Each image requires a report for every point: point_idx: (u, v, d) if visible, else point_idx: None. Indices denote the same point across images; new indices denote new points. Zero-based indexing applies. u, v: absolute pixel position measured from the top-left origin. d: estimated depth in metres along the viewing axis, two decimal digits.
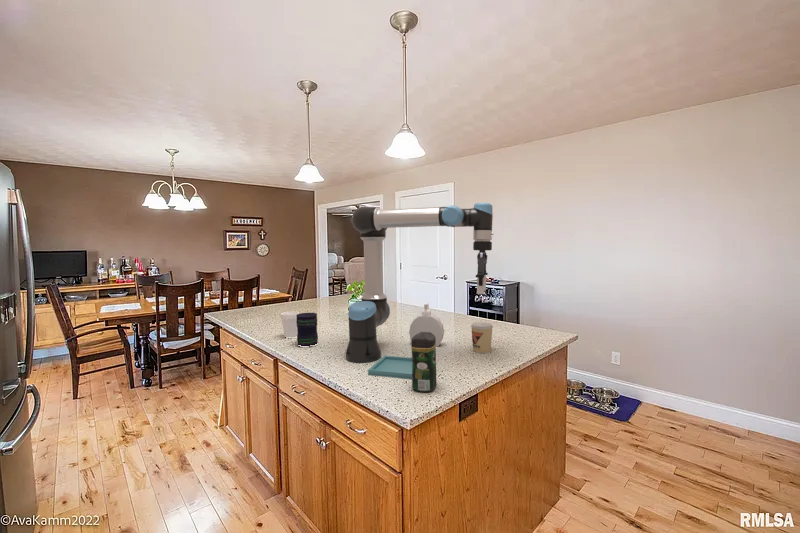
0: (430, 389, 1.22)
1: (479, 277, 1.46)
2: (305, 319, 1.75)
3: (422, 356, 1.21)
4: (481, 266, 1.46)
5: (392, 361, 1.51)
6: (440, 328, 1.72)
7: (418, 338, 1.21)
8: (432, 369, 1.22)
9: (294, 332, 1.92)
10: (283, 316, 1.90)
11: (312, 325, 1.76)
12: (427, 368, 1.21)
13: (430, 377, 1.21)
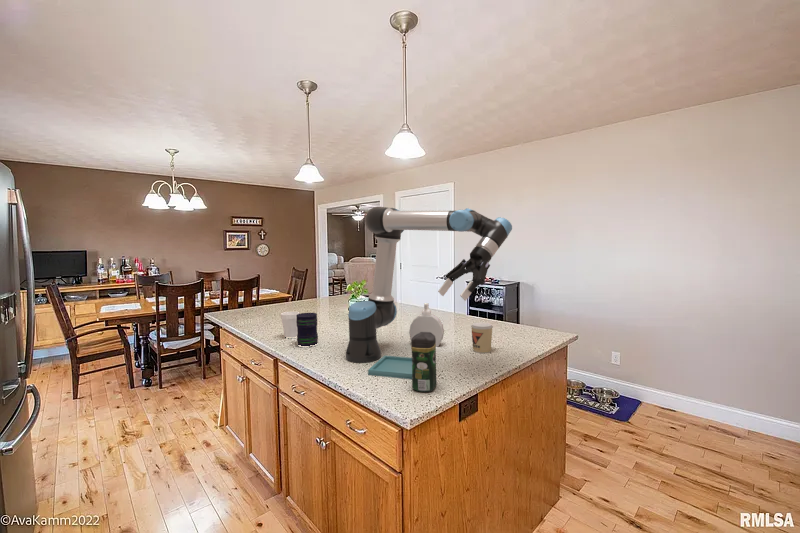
0: (430, 389, 1.22)
1: (476, 282, 1.27)
2: (305, 319, 1.75)
3: (422, 356, 1.21)
4: (484, 275, 1.29)
5: (392, 361, 1.51)
6: (440, 328, 1.72)
7: (418, 338, 1.21)
8: (432, 369, 1.22)
9: (294, 332, 1.92)
10: (283, 316, 1.90)
11: (312, 325, 1.76)
12: (427, 368, 1.21)
13: (430, 377, 1.21)
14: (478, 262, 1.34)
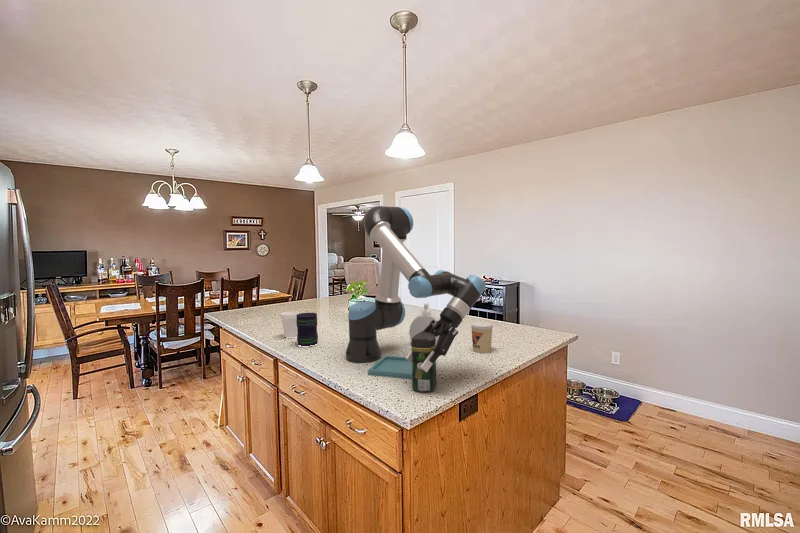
0: (430, 389, 1.22)
1: (437, 353, 1.20)
2: (305, 319, 1.75)
3: (422, 356, 1.21)
4: (448, 345, 1.21)
5: (392, 361, 1.51)
6: None
7: (418, 338, 1.21)
8: (432, 369, 1.22)
9: (294, 332, 1.92)
10: (283, 316, 1.90)
11: (312, 325, 1.76)
12: None
13: (430, 377, 1.21)
14: (447, 326, 1.26)
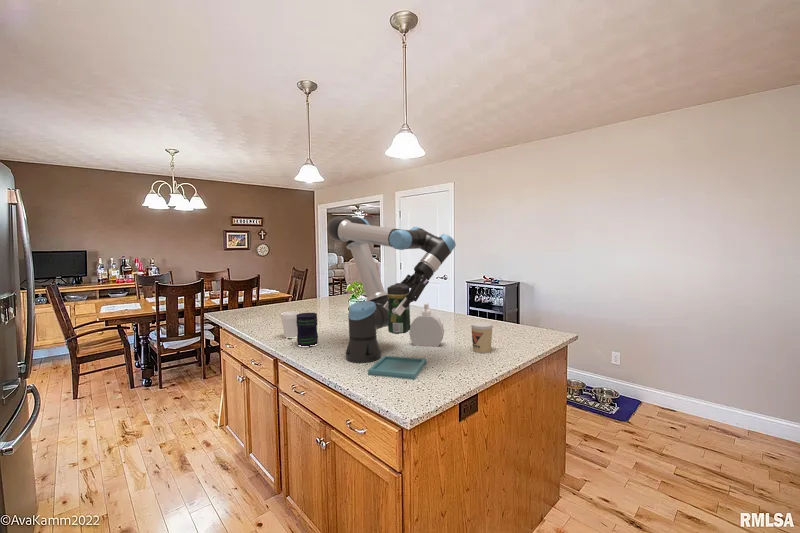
0: (403, 331, 1.38)
1: (409, 299, 1.36)
2: (305, 319, 1.75)
3: (397, 302, 1.38)
4: (419, 292, 1.37)
5: (392, 361, 1.51)
6: (440, 328, 1.72)
7: (393, 286, 1.38)
8: (405, 314, 1.39)
9: (294, 332, 1.92)
10: (283, 316, 1.90)
11: (312, 325, 1.76)
12: None
13: (403, 321, 1.38)
14: (420, 277, 1.42)
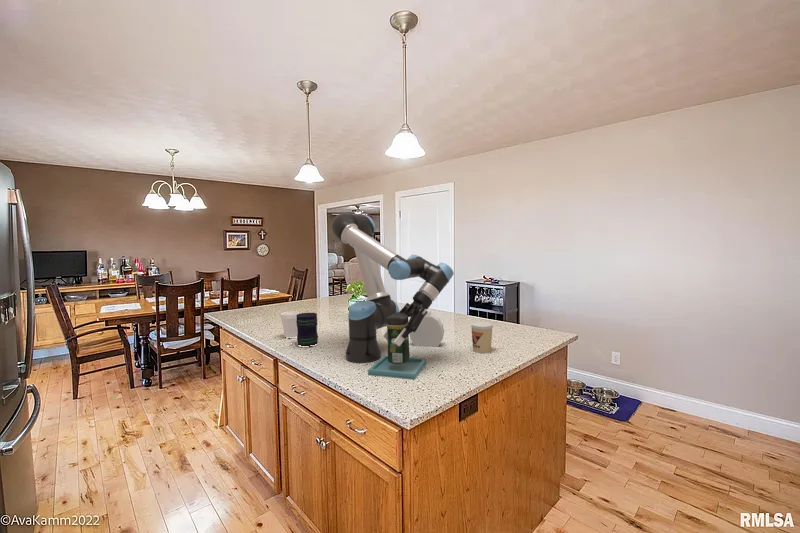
0: (403, 361, 1.40)
1: (408, 330, 1.38)
2: (305, 319, 1.75)
3: (396, 333, 1.39)
4: (418, 322, 1.39)
5: None
6: (440, 328, 1.72)
7: (392, 317, 1.39)
8: (404, 344, 1.40)
9: (294, 332, 1.92)
10: (283, 316, 1.90)
11: (312, 325, 1.76)
12: None
13: (402, 351, 1.40)
14: (418, 307, 1.44)
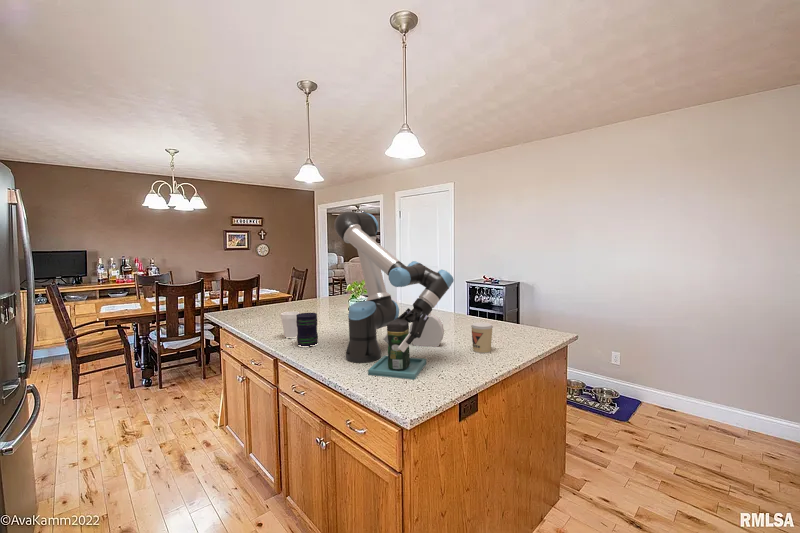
0: (403, 368, 1.40)
1: (413, 336, 1.37)
2: (305, 319, 1.75)
3: (396, 339, 1.40)
4: (421, 328, 1.38)
5: None
6: (440, 328, 1.72)
7: (392, 323, 1.40)
8: (405, 350, 1.41)
9: (294, 332, 1.92)
10: (283, 316, 1.90)
11: (312, 325, 1.76)
12: None
13: (403, 357, 1.40)
14: (418, 314, 1.44)
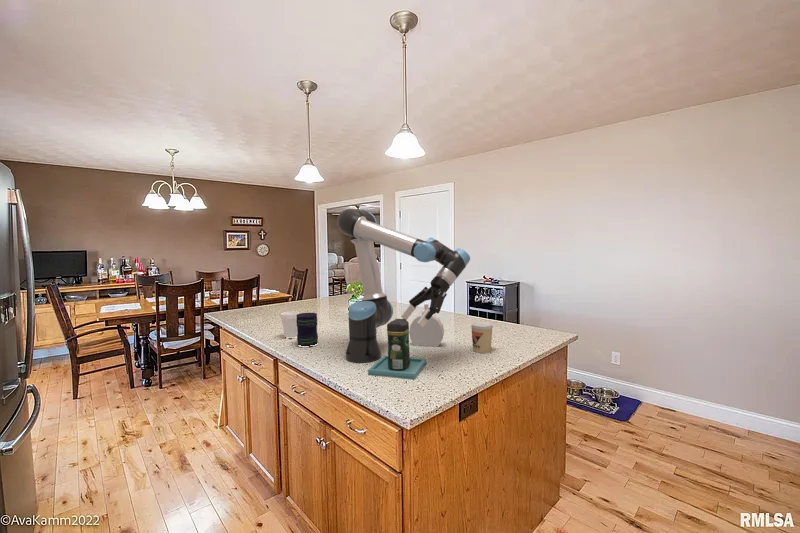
0: (403, 368, 1.40)
1: (432, 311, 1.40)
2: (305, 319, 1.75)
3: (396, 339, 1.40)
4: (440, 304, 1.41)
5: None
6: (440, 328, 1.72)
7: (392, 323, 1.40)
8: (405, 350, 1.41)
9: (294, 332, 1.92)
10: (283, 316, 1.90)
11: (312, 325, 1.76)
12: (400, 349, 1.40)
13: (403, 357, 1.40)
14: (436, 291, 1.47)
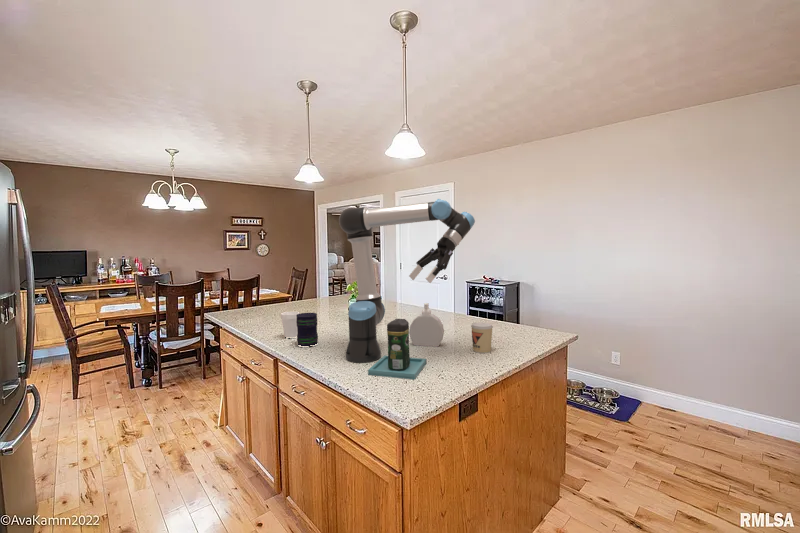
0: (403, 368, 1.40)
1: (439, 267, 1.47)
2: (305, 319, 1.75)
3: (396, 339, 1.40)
4: (447, 261, 1.49)
5: None
6: (440, 328, 1.72)
7: (392, 323, 1.40)
8: (405, 350, 1.41)
9: (294, 332, 1.92)
10: (283, 316, 1.90)
11: (312, 325, 1.76)
12: (400, 349, 1.40)
13: (403, 357, 1.40)
14: (443, 250, 1.54)
